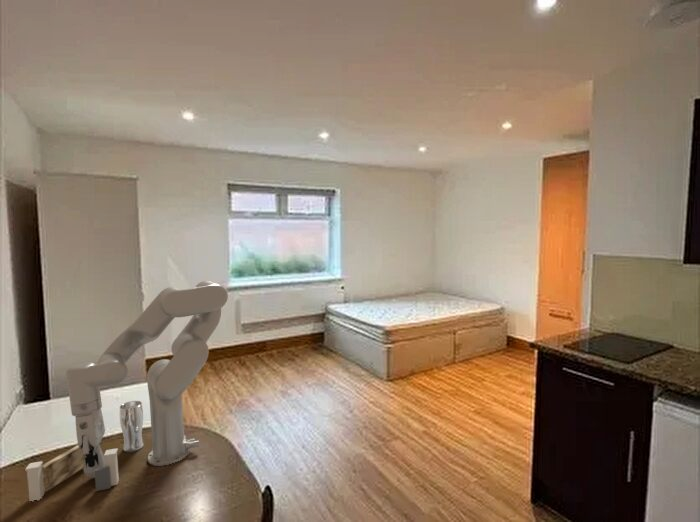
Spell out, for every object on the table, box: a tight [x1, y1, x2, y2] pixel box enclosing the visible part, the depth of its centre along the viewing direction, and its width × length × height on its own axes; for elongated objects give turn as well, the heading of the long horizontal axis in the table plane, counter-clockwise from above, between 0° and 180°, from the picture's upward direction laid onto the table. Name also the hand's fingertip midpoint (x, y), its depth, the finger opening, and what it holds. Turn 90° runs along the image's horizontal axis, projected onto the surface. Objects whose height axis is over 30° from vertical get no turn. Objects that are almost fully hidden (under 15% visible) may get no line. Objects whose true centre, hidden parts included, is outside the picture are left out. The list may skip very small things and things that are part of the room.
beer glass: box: [119, 400, 144, 453], centre depth 139 cm, size 7×7×15 cm
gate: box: [42, 444, 84, 492], centre depth 122 cm, size 15×2×7 cm, turn 164°
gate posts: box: [25, 448, 120, 502], centre depth 116 cm, size 22×4×10 cm, turn 109°
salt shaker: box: [82, 443, 106, 479], centre depth 121 cm, size 6×6×13 cm
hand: (94, 463), depth 122 cm, fingers closed on salt shaker, 3 cm apart
